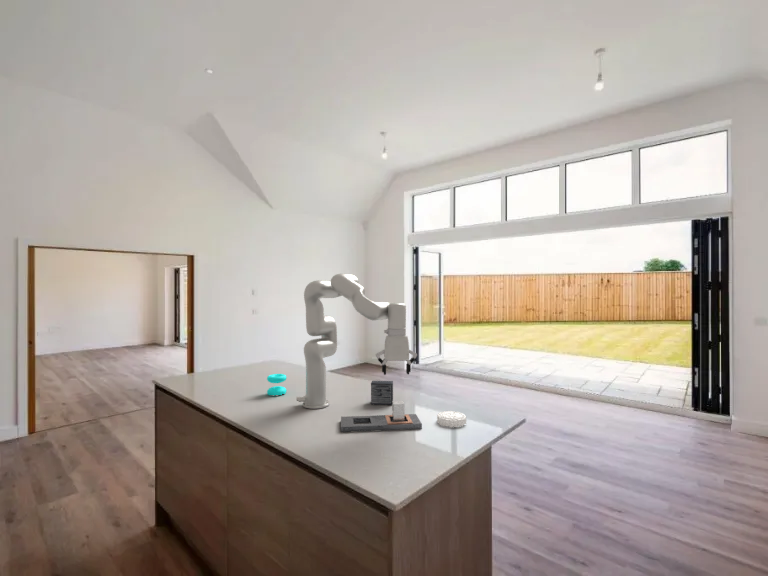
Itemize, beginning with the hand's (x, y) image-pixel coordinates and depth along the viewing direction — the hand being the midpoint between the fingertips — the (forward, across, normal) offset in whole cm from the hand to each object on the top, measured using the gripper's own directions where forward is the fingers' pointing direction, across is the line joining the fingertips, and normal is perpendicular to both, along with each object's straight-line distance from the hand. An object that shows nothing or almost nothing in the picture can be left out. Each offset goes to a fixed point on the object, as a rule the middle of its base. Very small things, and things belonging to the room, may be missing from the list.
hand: (396, 373), depth 157 cm
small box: (+21, -3, +28) cm, 36 cm away
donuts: (+22, -57, +50) cm, 79 cm away
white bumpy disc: (+21, +23, -1) cm, 31 cm away
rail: (+20, -7, -2) cm, 22 cm away
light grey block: (+20, +1, -1) cm, 21 cm away
